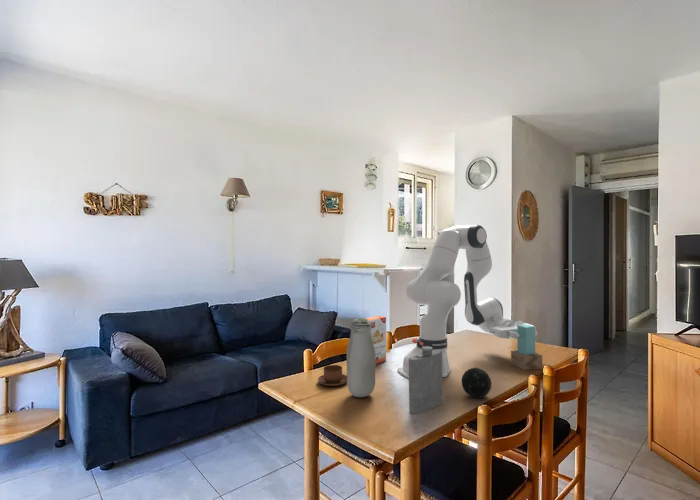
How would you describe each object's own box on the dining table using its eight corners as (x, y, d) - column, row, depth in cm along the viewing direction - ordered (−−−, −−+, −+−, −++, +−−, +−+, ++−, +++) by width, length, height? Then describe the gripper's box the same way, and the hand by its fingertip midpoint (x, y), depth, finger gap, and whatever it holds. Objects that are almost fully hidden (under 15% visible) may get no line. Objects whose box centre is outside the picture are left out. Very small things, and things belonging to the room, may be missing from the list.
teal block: (526, 355, 168) (526, 327, 168) (517, 352, 173) (517, 325, 173) (535, 353, 170) (535, 326, 170) (526, 350, 175) (526, 324, 174)
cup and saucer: (312, 383, 155) (311, 367, 155) (335, 376, 163) (335, 361, 163) (330, 391, 146) (330, 374, 146) (354, 383, 153) (354, 368, 153)
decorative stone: (467, 389, 145) (466, 362, 145) (494, 395, 139) (494, 367, 139) (457, 398, 137) (457, 369, 137) (486, 404, 131) (486, 374, 131)
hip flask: (436, 398, 137) (435, 341, 136) (446, 402, 134) (445, 343, 133) (407, 412, 126) (406, 350, 126) (417, 415, 123) (416, 352, 123)
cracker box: (367, 368, 172) (366, 320, 172) (357, 365, 177) (356, 319, 176) (387, 360, 182) (386, 316, 182) (377, 358, 187) (376, 315, 186)
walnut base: (523, 370, 166) (523, 356, 166) (511, 364, 175) (511, 350, 175) (542, 368, 168) (542, 355, 168) (529, 362, 177) (529, 349, 177)
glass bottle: (359, 403, 133) (358, 322, 133) (342, 394, 141) (341, 318, 141) (381, 396, 139) (380, 318, 139) (363, 388, 147) (362, 314, 147)
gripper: (487, 323, 180) (508, 329, 167) (522, 320, 187) (545, 325, 174) (487, 337, 180) (508, 343, 167) (522, 333, 187) (545, 339, 174)
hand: (527, 334), depth 171 cm, fingers open, 8 cm apart
